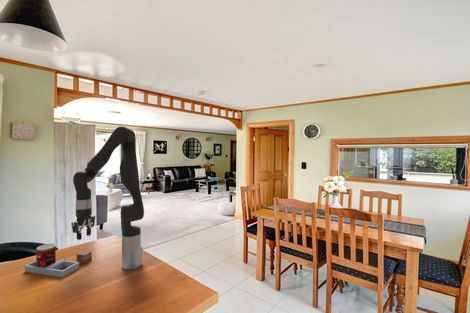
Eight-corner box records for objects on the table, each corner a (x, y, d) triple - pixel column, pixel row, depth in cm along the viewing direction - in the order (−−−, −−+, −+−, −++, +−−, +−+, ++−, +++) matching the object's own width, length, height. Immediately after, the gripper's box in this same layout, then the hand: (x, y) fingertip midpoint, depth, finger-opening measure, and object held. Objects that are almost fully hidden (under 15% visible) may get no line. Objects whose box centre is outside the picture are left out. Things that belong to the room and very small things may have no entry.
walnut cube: (91, 260, 136) (91, 251, 135) (84, 264, 131) (84, 255, 131) (84, 259, 137) (84, 250, 136) (76, 263, 132) (76, 254, 132)
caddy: (82, 266, 128) (82, 260, 128) (62, 277, 117) (62, 271, 117) (47, 261, 133) (46, 255, 133) (24, 271, 122) (24, 265, 122)
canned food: (39, 265, 129) (39, 244, 128) (57, 262, 132) (57, 242, 131) (34, 272, 122) (33, 250, 121) (53, 269, 125) (53, 248, 124)
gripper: (88, 203, 140) (88, 232, 141) (66, 209, 126) (66, 241, 127) (99, 204, 139) (99, 233, 139) (78, 210, 125) (78, 243, 125)
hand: (84, 237), depth 133 cm, fingers open, 5 cm apart
